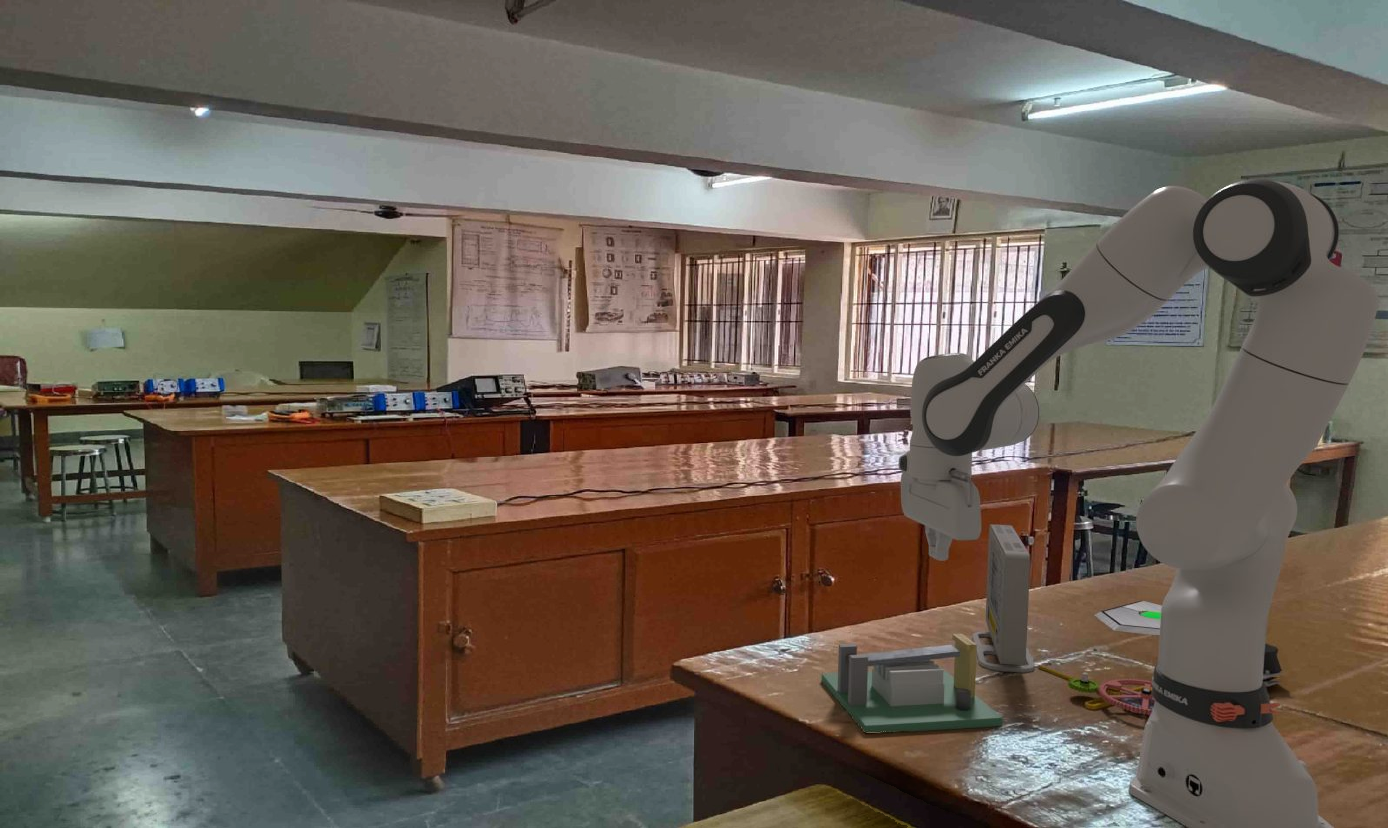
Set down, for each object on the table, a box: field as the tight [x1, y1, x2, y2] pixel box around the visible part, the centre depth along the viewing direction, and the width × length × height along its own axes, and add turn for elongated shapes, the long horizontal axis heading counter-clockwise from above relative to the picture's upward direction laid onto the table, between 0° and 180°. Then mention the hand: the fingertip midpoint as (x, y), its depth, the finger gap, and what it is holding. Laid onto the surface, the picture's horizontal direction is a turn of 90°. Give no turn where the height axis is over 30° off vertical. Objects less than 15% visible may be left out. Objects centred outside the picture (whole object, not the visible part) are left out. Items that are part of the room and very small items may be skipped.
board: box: [821, 633, 1003, 733], centre depth 142 cm, size 20×20×9 cm
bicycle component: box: [1262, 643, 1284, 687], centre depth 152 cm, size 12×7×15 cm
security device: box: [1093, 600, 1162, 636], centre depth 184 cm, size 17×22×2 cm
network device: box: [972, 524, 1036, 673], centre depth 164 cm, size 26×9×20 cm, turn 168°
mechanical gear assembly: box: [1037, 664, 1155, 716], centre depth 145 cm, size 30×4×15 cm
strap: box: [846, 644, 960, 667], centre depth 142 cm, size 3×16×1 cm, turn 100°
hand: (938, 558), depth 141 cm, fingers closed
